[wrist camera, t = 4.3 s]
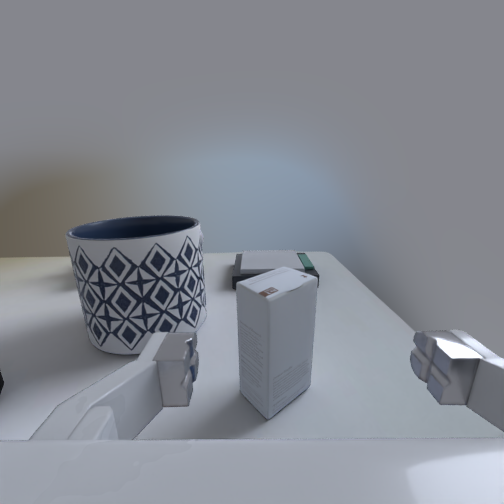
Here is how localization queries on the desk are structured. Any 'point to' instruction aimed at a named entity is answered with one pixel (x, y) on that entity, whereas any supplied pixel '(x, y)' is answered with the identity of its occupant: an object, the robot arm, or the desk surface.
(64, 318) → the desk surface
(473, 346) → the robot arm
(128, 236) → the planter
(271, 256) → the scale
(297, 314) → the cosmetic box
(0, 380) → the microphone
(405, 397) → the desk surface
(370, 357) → the desk surface
